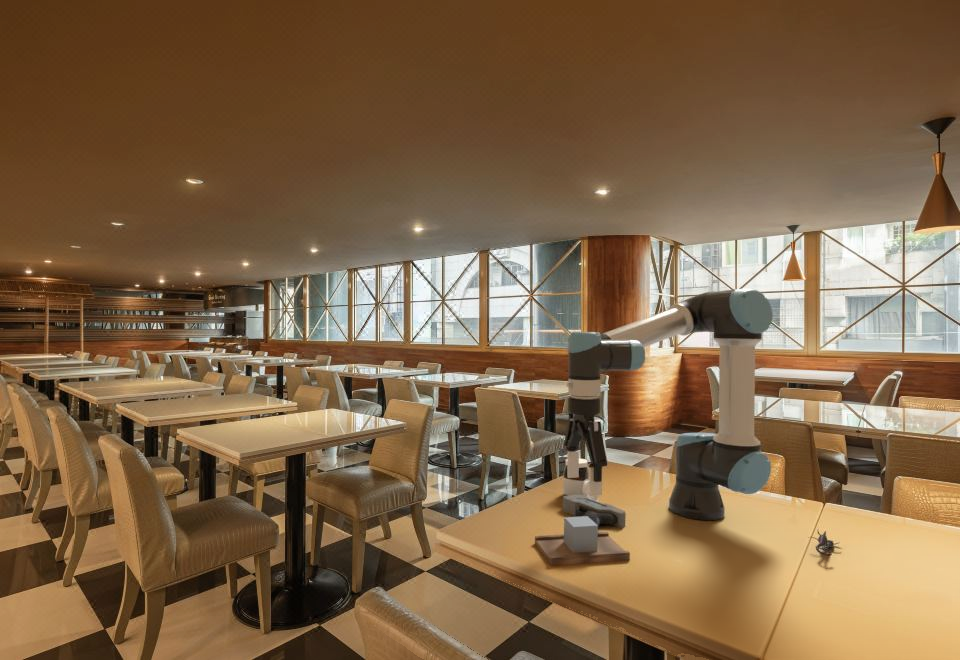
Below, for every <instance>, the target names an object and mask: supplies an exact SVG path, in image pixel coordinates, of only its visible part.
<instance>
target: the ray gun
mask: <svg viewBox="0 0 960 660" xmlns="http://www.w3.org/2000/svg"><path fill="white" fill-rule="evenodd" d="M562 511H564V513H567V514H570V515H572V516H573V517H582V516H588V517H589V518H590V519H591V520H592V521H593V522H595V523H596V524H597V525H598V526H599V525H608V526H610V525H612V526H615V527H616V528H621V529H622V528H624V527H626V516H627V515H626V514H627V513H626V511H625V510H623V509H620V508H619V507H616V506H614V505H611V504H609V503H605V502H604V503H602V502H599V501H598V502H597V501H594V500H591V499H588V497H587V496H584V495H581V494H580V495H578V494H576V495H569V496H564V495H563V496H562Z"/></svg>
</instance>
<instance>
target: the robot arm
mask: <svg viewBox="0 0 960 660" xmlns="http://www.w3.org/2000/svg"><path fill="white" fill-rule="evenodd" d="M773 314H774V313H773V308H772V305H771V303H770V301H769V298H767V297H766V296H765V294H764V293H762V291H759V290H757V289H753V288H752V289H751V288H736V289H724V290H717V291H714V290H712V291H706V292H703V293H699V294H698V295H694V296H692V297H689V298H686V299H684V300H681V301H679V302H676V303H673V304H672V305H670V306H669V308H668V309H667V310H664V311H661V312H658V313H657V314H656V313H655V314H652V315H650V316H648V317H645V318H642V319H639V320H637V321H633V322H632V323H627V324H625V325H623V326H622V325H621V326H619V327H617V328H614V329H612V330H609V331H606V332H604V333H600V332H597V331H596V332H595V331H574V332H571V333H570V334H569V336H568V343H567V344H568V347H567V352H568V356H567V357H568V359H567V360H568V366H567V369H568V373H567V374H568V382H567V383H566V387H568V389H567V391H568V395H569V397H568V398H567V412H568V419H567V421H568V422H567V425H566V431H565V436H564V440H563V446H564V447H565V448H566V450H567V458H566V459H567V477H568V478H576V477H579V458H580V455H579V454H580V452H579V451H580V450H581V449H580V447H579V446H580V443H581V441H584V444H585V446H586V451H587V454H588V457H589V461H590V463H589V464H588V471H589V495H590V496H597V495H599V496H603V467H607V466H608V460H607V454H606V450H605V444H604V443H605V442H604V438H603V434H602V422H601V421H595V416H597V415H599V414H600V413H601V399H600V398H599V397H600V396H601V394H602V392H601V390H602V389H601V385H602V383H601V381H602V379H601V372H605V371H607V372H609V371H610V372H612V371H615V372H616V371H618V372H621V371H627V372H630V371H637V370H639V369H640V368H642V367H643V366H644V364H645V360H646V349H645V347H649V346H651V345H654V344H656V343H659V342H662V341H664V340H667V339H670V338H672V337H675V336H678V335H680V336H688V335H690V334H695V333H713V340H714V341H715V342H716V343H717V344H718V345H719V362H718V363H719V365H718V367H719V369H718V372H719V373H718V374H719V375H718V376H719V377H718V378H719V380H718V382H719V383H718V432H717V433H713V432H686V433H685V432H684V433H680V434H679V435H678V436H677V438H676V445H675V450H676V451H675V484H674V486H673V489H672V491H671V494H670V497H669V501H668V509H669V510H670V511H671V512H672V513H675V514H676V515H678V516H681V517H685V518H688V519H692V518H693V519H694V520H698V519H700V520H701V521H717V519H718V520H721V519H723V518H725V512H726V511H725V505H724V502H723V498H722V495H721V493H720V490H719V489H720V488H719V486H721V487H723V488H726V489H728V490H731V491H732V492H735V493H741V494H743V495H744V494H745V495H752V494H753V495H754V494H755V493H758V492H760V491H761V490H762V489H763V488H764V487H765V485H767V483H768V481H769V479H770V477H771V472H772V464H771V463H772V462H771V460H770V459H769V457H768V456H767V454H765V453H764V452H762V451H761V446H762V445H761V441H760V440H759V439H758V438H757V437H756V435H755V402H756V401H755V394H756V393H755V392H756V391H755V389H756V388H755V387H756V386H755V384H756V381H755V380H756V379H755V378H756V377H755V375H756V372H755V371H756V346H757V345H758V343H760V342H761V341H762V340H763V338H762V337H763V333H765V332H766V331H768V329H769V328H770V325H771V324H772V323H773ZM700 520H699V521H700Z"/></svg>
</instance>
